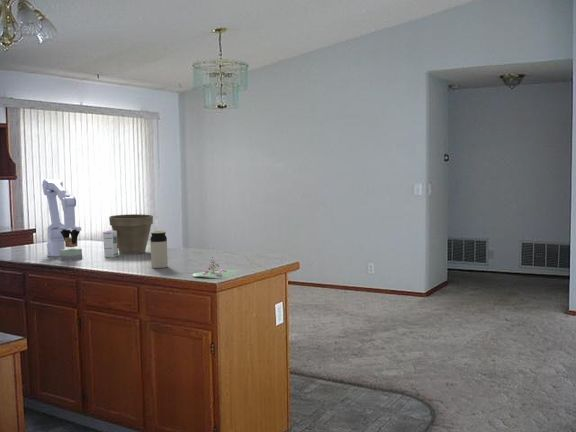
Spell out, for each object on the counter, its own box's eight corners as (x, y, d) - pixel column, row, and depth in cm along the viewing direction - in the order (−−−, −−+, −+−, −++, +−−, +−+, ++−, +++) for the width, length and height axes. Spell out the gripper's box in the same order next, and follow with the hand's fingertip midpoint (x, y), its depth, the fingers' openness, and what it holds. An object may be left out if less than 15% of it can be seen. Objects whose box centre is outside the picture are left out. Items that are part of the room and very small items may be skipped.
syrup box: (113, 257, 353) (112, 231, 351) (103, 257, 354) (102, 231, 353) (118, 255, 358) (117, 230, 357) (108, 255, 359) (107, 230, 358)
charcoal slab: (60, 260, 346) (60, 255, 346) (71, 258, 353) (71, 253, 353) (71, 261, 343) (71, 256, 342) (82, 259, 350) (82, 254, 350)
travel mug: (168, 267, 313) (167, 231, 311) (152, 269, 310) (150, 232, 309) (166, 265, 320) (165, 230, 319) (150, 266, 318) (149, 231, 316)
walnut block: (65, 246, 347) (65, 237, 346) (71, 245, 351) (71, 237, 350) (71, 247, 345) (71, 238, 344) (77, 246, 349) (77, 237, 348)
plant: (217, 269, 309) (216, 251, 308) (251, 272, 298) (251, 253, 297) (182, 277, 288) (182, 258, 287) (218, 281, 277) (217, 261, 276)
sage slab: (60, 255, 346) (60, 249, 346) (72, 253, 353) (71, 248, 353) (70, 256, 342) (70, 250, 342) (82, 254, 349) (81, 248, 349)
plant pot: (161, 252, 366) (159, 215, 364) (119, 257, 352) (118, 218, 350) (144, 248, 387) (143, 213, 385) (104, 252, 373) (103, 215, 371)
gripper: (84, 218, 346) (86, 243, 347) (65, 218, 353) (66, 242, 354) (75, 219, 340) (76, 244, 341) (55, 219, 346) (56, 243, 348)
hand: (70, 243), depth 347 cm, fingers closed on walnut block, 4 cm apart
